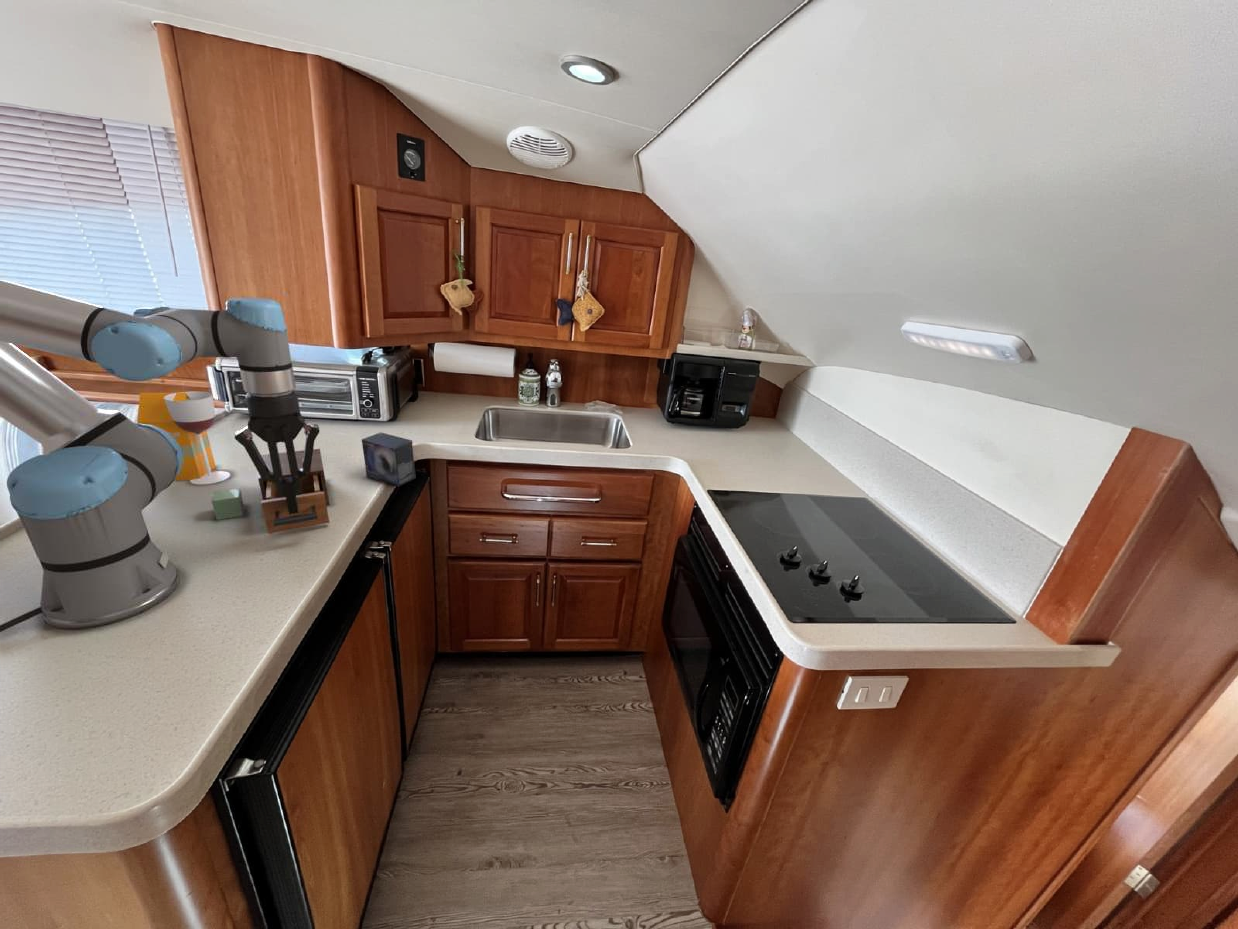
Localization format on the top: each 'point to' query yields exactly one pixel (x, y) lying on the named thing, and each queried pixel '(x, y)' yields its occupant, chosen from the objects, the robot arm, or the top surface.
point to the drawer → (308, 507)
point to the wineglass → (196, 425)
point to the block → (228, 504)
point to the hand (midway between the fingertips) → (293, 510)
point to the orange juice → (176, 434)
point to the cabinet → (315, 469)
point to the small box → (389, 458)
